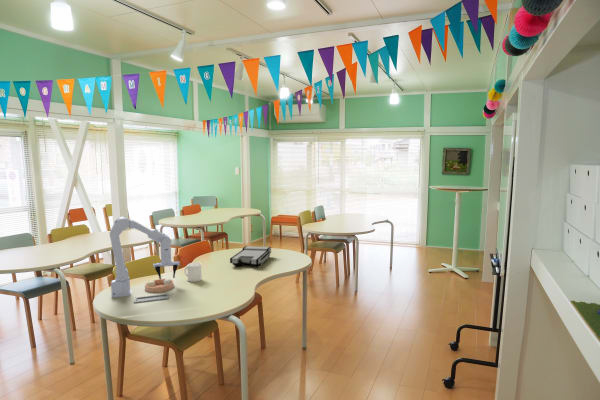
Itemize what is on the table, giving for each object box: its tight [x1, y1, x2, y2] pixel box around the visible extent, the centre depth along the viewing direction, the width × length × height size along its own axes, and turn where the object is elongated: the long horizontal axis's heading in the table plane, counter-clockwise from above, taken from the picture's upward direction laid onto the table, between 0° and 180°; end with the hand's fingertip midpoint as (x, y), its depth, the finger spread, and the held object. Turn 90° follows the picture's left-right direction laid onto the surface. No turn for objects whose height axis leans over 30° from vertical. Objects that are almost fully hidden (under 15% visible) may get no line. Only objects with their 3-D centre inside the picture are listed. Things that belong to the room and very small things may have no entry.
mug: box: [184, 262, 203, 283], centre depth 233 cm, size 12×8×10 cm
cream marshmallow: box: [146, 280, 155, 287], centre depth 216 cm, size 4×4×4 cm
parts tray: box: [133, 293, 170, 304], centre depth 200 cm, size 17×7×1 cm, turn 108°
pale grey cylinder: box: [164, 278, 172, 286], centre depth 219 cm, size 4×4×4 cm
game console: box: [229, 245, 272, 267], centre depth 272 cm, size 21×32×8 cm, turn 168°
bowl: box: [144, 278, 175, 293], centre depth 218 cm, size 16×16×3 cm
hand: (167, 278), depth 219 cm, fingers open, 7 cm apart
